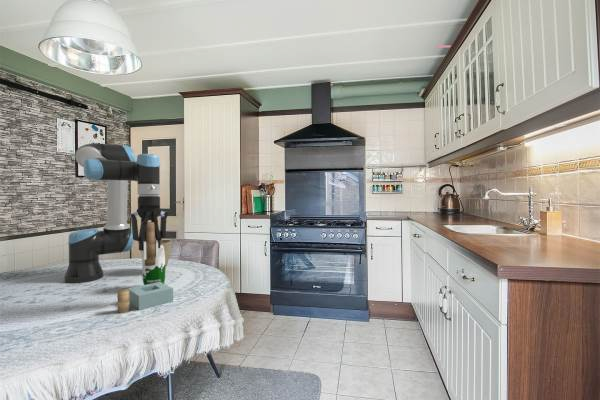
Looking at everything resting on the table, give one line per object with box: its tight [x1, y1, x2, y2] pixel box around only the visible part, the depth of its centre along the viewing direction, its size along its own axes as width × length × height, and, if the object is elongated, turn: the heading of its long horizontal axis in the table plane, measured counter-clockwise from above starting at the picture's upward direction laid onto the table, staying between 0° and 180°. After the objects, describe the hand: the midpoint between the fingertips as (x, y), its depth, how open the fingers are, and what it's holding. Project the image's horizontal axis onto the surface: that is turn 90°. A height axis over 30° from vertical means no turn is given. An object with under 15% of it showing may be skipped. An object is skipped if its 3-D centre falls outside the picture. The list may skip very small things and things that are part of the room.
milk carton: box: [141, 245, 166, 285], centre depth 131 cm, size 9×9×20 cm
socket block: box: [127, 282, 174, 311], centre depth 116 cm, size 12×12×5 cm
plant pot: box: [140, 239, 173, 271], centre depth 157 cm, size 15×15×16 cm
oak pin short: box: [116, 288, 131, 314], centre depth 106 cm, size 4×4×7 cm
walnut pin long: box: [144, 221, 156, 266], centre depth 115 cm, size 4×4×16 cm
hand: (150, 258), depth 115 cm, fingers closed on walnut pin long, 3 cm apart
